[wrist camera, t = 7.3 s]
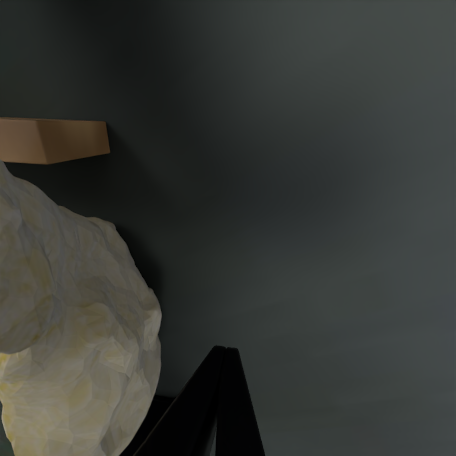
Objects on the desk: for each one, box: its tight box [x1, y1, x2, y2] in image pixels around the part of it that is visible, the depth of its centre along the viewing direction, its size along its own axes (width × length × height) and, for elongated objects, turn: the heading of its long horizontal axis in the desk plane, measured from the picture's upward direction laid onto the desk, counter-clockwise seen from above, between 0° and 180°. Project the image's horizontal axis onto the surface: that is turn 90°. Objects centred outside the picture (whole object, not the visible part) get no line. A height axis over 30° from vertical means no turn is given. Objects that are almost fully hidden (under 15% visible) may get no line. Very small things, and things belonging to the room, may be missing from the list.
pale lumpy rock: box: [0, 159, 162, 456], centre depth 13 cm, size 15×7×15 cm
